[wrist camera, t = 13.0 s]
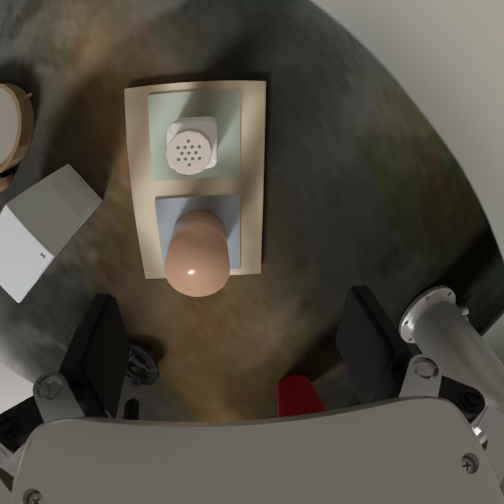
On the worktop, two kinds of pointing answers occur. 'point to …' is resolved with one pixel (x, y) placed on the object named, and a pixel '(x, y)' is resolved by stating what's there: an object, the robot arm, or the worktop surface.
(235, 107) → the board
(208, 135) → the salt shaker
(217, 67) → the worktop surface
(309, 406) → the plastic cup
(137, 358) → the milk frother
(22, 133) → the alarm clock
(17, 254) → the small box
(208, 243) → the peach rounded cylinder
